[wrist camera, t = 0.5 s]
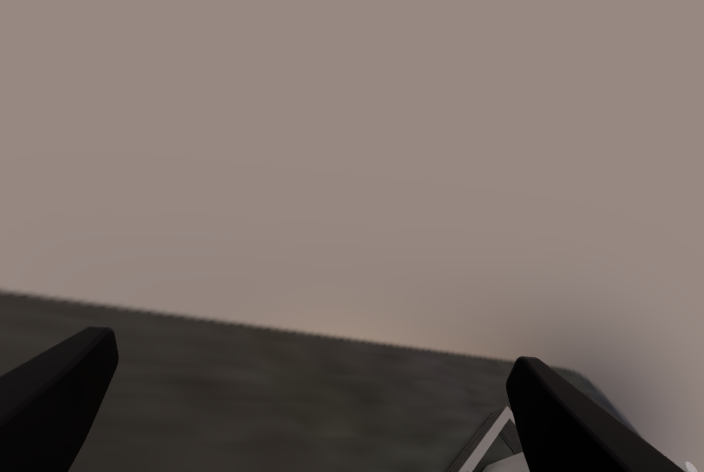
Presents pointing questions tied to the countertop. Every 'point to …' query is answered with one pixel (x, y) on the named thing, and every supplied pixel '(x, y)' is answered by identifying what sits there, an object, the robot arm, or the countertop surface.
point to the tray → (488, 440)
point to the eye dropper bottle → (516, 468)
